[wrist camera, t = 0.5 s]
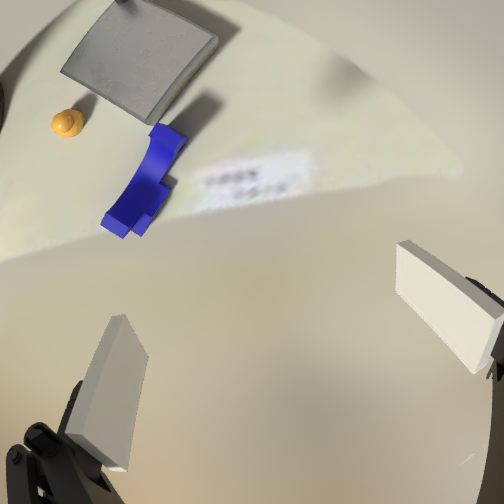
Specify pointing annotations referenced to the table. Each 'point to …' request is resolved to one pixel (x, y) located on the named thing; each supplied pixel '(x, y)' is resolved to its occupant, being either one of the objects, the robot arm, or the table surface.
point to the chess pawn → (68, 123)
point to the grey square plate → (140, 57)
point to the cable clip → (145, 185)
